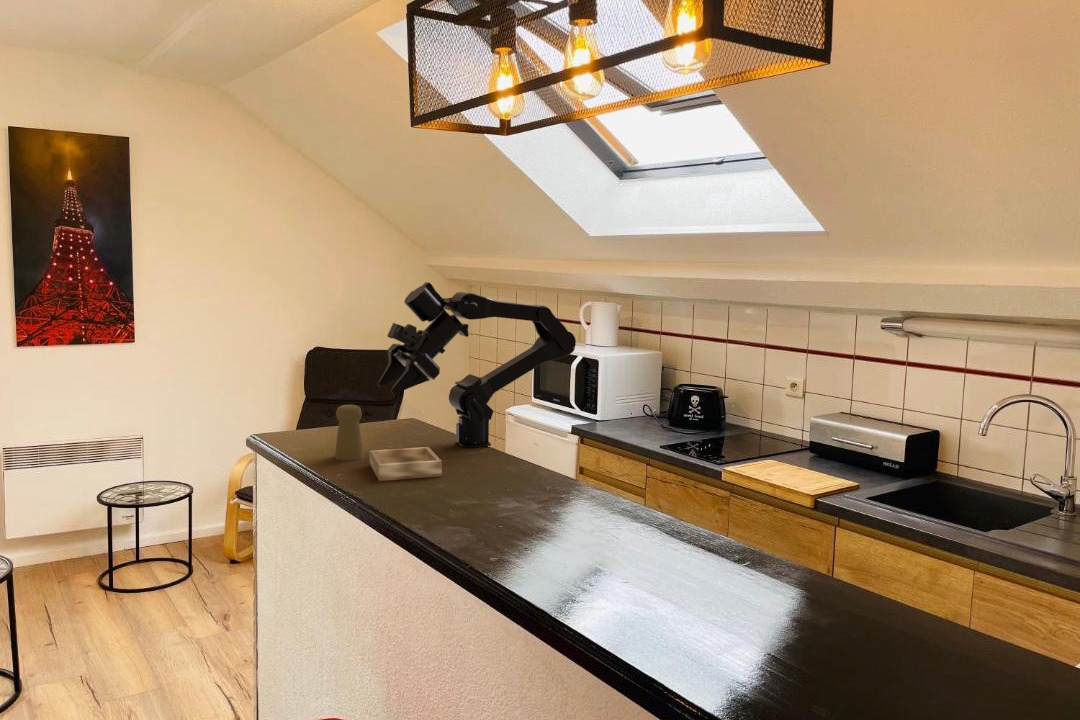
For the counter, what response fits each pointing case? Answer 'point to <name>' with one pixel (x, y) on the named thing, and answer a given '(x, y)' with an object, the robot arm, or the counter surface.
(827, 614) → the counter surface
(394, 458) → the birch tray
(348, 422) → the olive pepper mill
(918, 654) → the counter surface
